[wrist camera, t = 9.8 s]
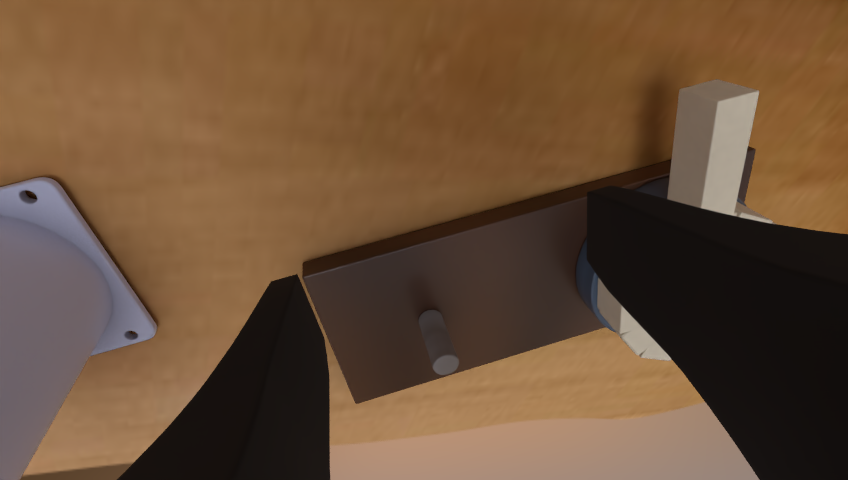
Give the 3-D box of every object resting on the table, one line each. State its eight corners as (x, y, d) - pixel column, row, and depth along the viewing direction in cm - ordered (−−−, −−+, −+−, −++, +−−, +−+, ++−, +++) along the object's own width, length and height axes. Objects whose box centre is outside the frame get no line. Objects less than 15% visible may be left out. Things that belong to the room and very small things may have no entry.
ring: (595, 350, 24) (617, 379, 22) (600, 109, 17) (632, 124, 15) (733, 307, 25) (763, 332, 23) (791, 58, 18) (841, 67, 16)
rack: (353, 387, 26) (364, 490, 21) (301, 262, 21) (299, 355, 16) (710, 278, 27) (801, 348, 22) (736, 140, 23) (859, 189, 18)
